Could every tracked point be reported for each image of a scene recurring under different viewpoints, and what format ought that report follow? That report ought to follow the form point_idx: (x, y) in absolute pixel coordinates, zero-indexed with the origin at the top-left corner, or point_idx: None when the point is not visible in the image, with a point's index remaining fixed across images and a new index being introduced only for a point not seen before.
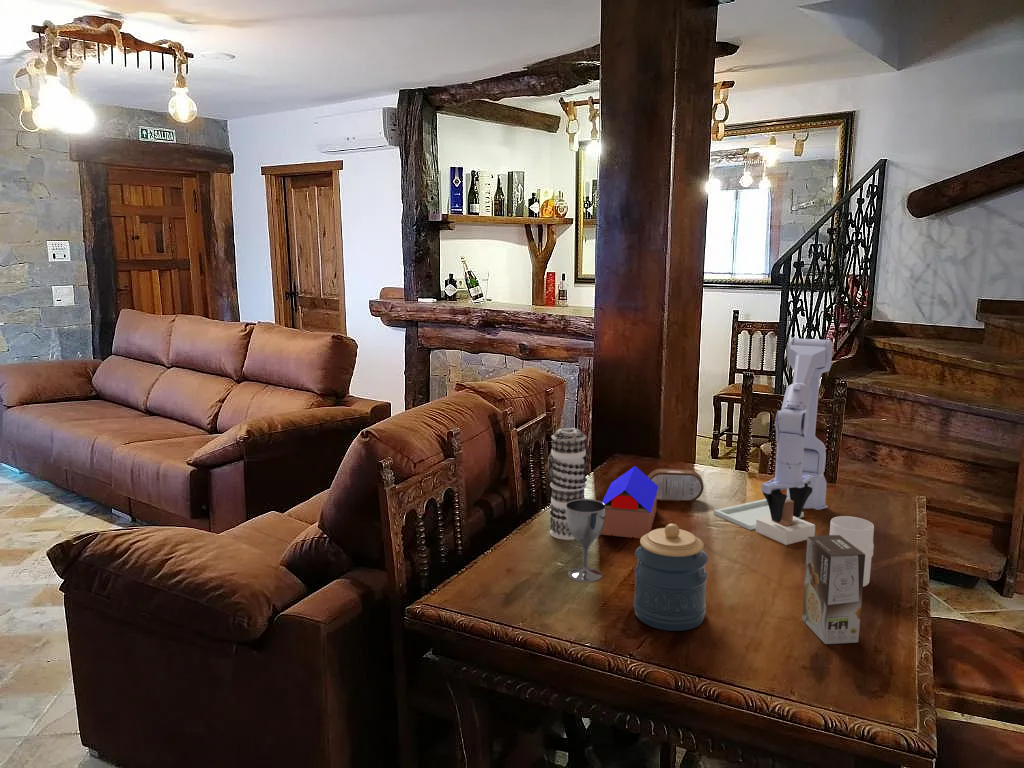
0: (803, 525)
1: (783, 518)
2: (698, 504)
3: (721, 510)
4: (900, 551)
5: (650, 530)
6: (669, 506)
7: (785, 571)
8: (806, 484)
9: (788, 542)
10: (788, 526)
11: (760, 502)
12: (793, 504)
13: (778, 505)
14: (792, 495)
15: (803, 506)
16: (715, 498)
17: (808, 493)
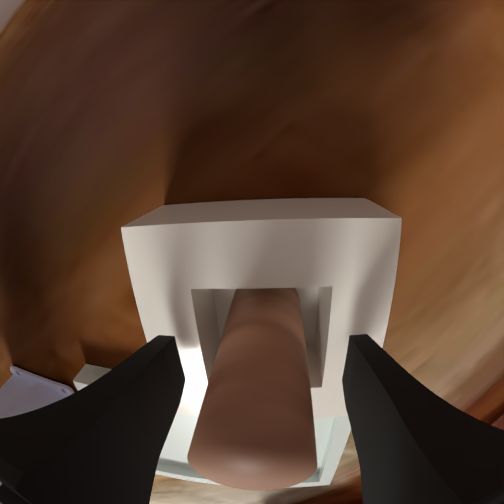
0: (197, 255)
1: (304, 356)
2: (285, 500)
3: (312, 481)
4: (9, 47)
5: (494, 425)
6: (346, 500)
7: (495, 64)
8: (4, 501)
9: (357, 204)
10: (277, 305)
11: (157, 468)
12: (219, 422)
13: (459, 416)
14: (141, 485)
15: (108, 373)
16: (223, 500)
17: (17, 437)
